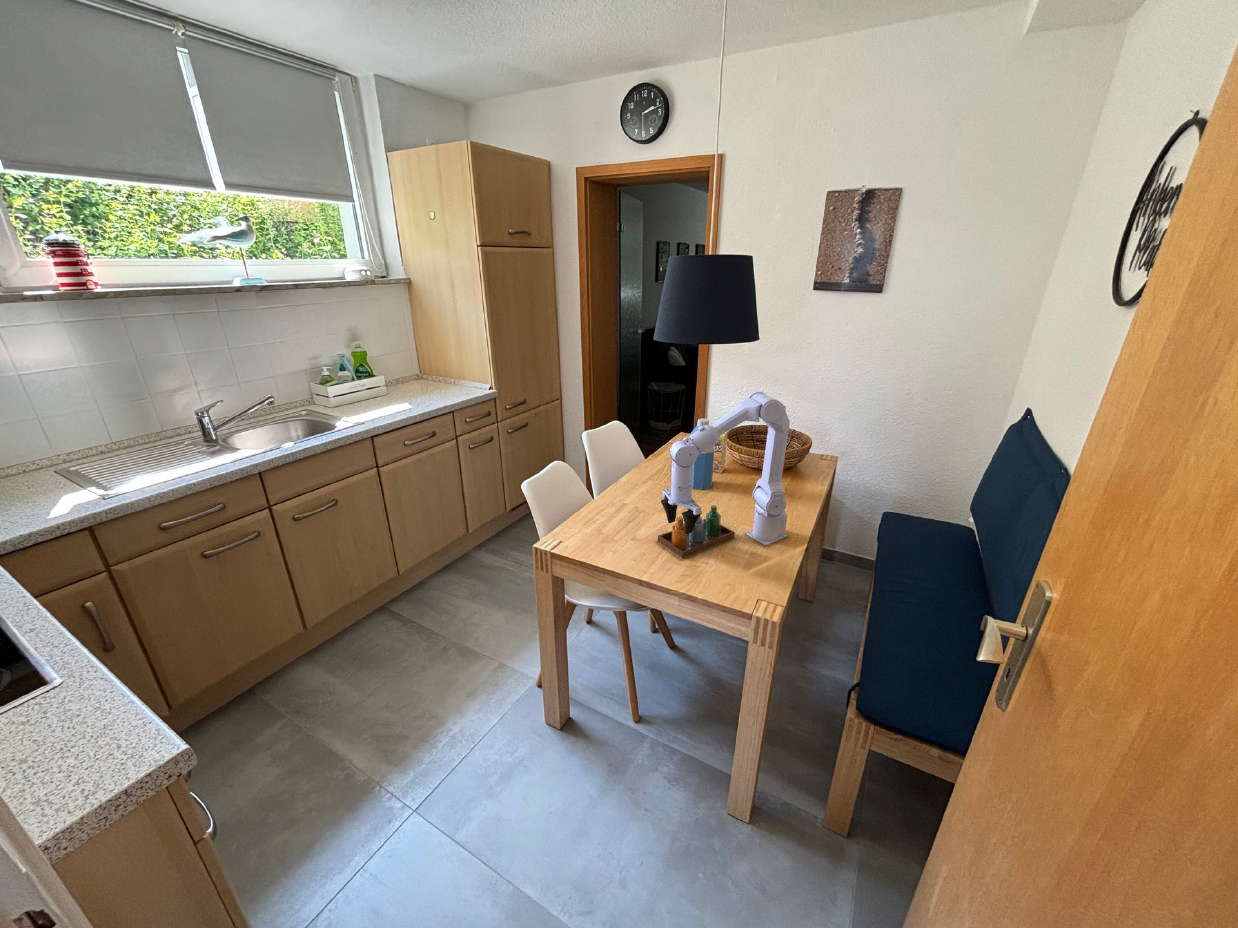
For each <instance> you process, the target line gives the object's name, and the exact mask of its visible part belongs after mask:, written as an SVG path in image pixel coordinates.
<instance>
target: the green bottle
mask: <svg viewBox="0 0 1238 928" xmlns="http://www.w3.org/2000/svg"><path fill="white" fill-rule="evenodd" d="M721 518H722V515H721V514H720V513H719V511H718V506H717V505H715V504H712V505H710V510H709V511H708V512H707V513H706V514H705V519H706V522H705V534H706V535H708V536H712V537H715V536H718V535H719V534H720V524H721V520H722V519H721Z"/></svg>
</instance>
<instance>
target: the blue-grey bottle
mask: <svg viewBox="0 0 1238 928" xmlns="http://www.w3.org/2000/svg"><path fill="white" fill-rule="evenodd" d="M704 524H705V522H704V520H703V518H702V517H701V515H700V516H699V518H698V519H697V521H696V523H695V526H694V528H693V531H692V533H689V540H690V541H691V542H694V543H700V542H702V541H703V540H704Z"/></svg>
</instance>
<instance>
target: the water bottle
mask: <svg viewBox="0 0 1238 928" xmlns="http://www.w3.org/2000/svg"><path fill="white" fill-rule="evenodd" d="M705 425H710V419H709V418H703V417H702V418H698V419H697V425H696V426H695V427H694V428H693V430H692V431H691V432H690V434H689V436H690V435H692V434H693V433H695V432H696V431H697V430H698V428H699V427H700V426H702V427H703V426H705ZM714 447H715V445H713V446H712V447H710V448H709V449H707V450H706V451H704V452H703V453H701V454H700V455H699V456H698V457H697V460H696V462H695V463H694V464H693V475H692V489H694V490H695V489H696V490H707V489H710V488H712V485H713V475H714V474H713V473H714V471H713V461H714Z"/></svg>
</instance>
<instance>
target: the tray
mask: <svg viewBox="0 0 1238 928" xmlns="http://www.w3.org/2000/svg"><path fill="white" fill-rule="evenodd" d="M702 519H703V518H702ZM703 520H704V522H706V518H704V519H703ZM733 538H735V531H734V530H732V529H730V528H728V527H726V526H724V525H723V524H721V523H720V534H719V535H718V536H715V537H712V536H708V535H706V534H705V524H704V540H703V541H702V542H700V543H694V542H691V541H690V540H689V534H687V547H686V548H685V549H682V550H680V549H679V548H677V547H676V546H674V545H673V544H672V530H670V531H667V532H664V533H661V534H659V535H657V542H658V543H659V544H660V545H662V546H663V547H664V548H666V549H668V550H670V551H671V552H673V553H674V554H675V555H677V556H678V557H679V558H681V559H684V558H686V557H689V556H692V555H694V554H696V553H700V552H702V551H704V550H706V549H709V548H711V547H714V546H716V545H719V544H722V543H724V542H726V541H730V540H732V539H733Z"/></svg>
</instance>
